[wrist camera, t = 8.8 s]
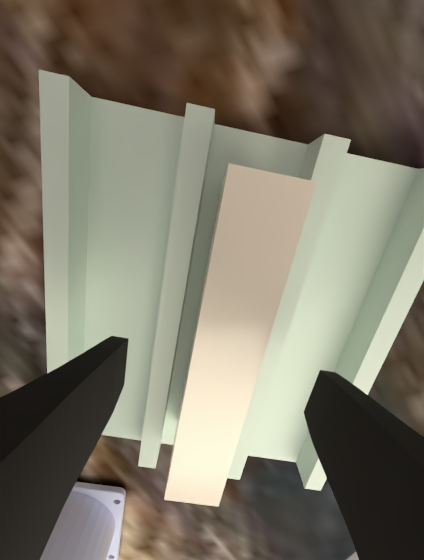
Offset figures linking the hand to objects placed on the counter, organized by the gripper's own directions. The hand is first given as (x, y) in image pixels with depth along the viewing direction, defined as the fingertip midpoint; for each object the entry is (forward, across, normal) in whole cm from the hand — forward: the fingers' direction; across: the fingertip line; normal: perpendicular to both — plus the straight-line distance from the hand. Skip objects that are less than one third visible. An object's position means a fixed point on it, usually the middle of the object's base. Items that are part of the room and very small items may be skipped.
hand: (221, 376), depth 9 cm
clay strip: (+4, 0, 0) cm, 4 cm away
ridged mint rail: (+5, 0, 0) cm, 5 cm away
